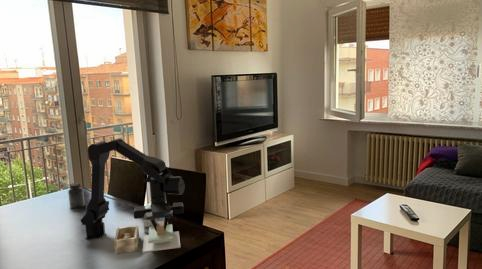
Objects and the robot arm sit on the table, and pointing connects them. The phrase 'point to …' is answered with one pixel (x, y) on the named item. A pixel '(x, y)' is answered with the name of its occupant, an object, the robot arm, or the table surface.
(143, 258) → the table surface
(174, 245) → the felt mat
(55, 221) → the table surface
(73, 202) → the supplement bottle
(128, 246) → the crate
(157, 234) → the lid
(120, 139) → the robot arm
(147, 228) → the light bulb box
